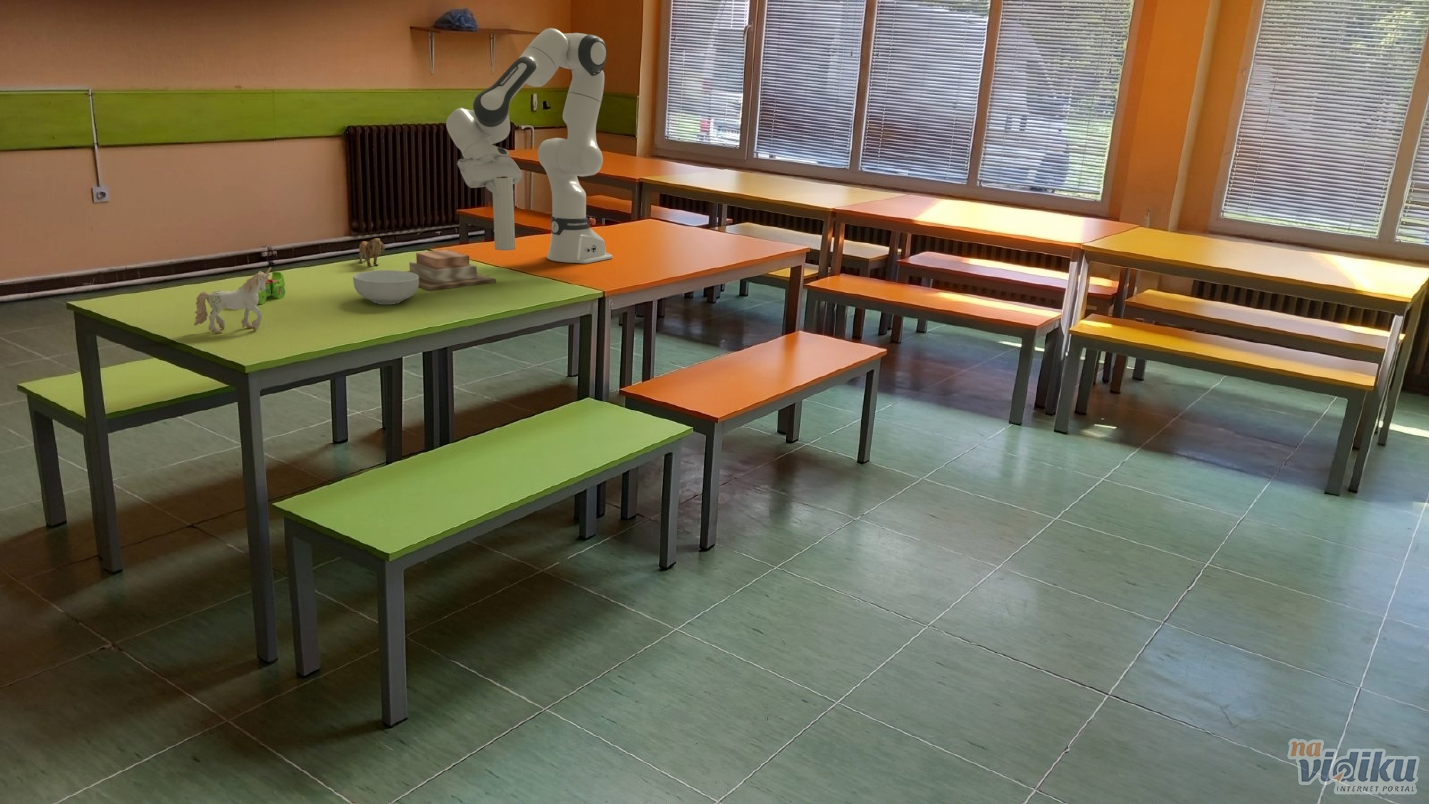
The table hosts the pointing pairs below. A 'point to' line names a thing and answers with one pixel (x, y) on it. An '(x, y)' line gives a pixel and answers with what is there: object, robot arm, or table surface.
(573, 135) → the robot arm
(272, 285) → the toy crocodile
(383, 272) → the cereal bowl
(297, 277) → the table surface
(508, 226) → the paper towel roll
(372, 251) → the lion figurine
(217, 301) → the unicorn figurine
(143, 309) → the table surface
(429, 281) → the brown square stepped pedestal
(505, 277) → the table surface
